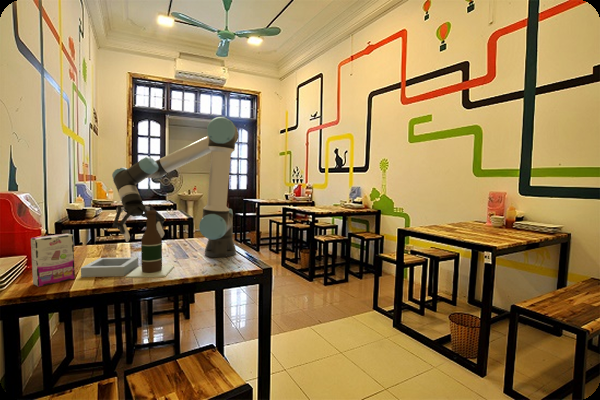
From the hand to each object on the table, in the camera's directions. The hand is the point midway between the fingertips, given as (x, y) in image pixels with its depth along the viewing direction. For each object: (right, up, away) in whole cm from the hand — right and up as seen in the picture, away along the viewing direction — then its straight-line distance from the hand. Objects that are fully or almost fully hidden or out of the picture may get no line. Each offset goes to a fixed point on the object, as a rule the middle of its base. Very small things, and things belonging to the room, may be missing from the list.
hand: (146, 237), depth 126 cm
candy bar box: (-25, -14, -15) cm, 33 cm away
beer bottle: (+3, -13, -1) cm, 13 cm away
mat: (+3, -14, -1) cm, 14 cm away
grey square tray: (-13, -13, -1) cm, 19 cm away
